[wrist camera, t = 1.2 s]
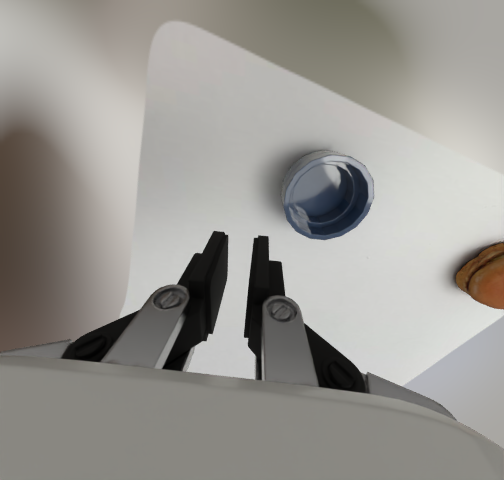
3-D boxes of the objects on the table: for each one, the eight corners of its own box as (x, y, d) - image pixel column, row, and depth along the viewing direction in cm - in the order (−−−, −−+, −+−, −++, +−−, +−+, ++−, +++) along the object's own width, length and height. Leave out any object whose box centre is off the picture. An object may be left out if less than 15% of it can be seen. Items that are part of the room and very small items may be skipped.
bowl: (287, 146, 23) (292, 150, 19) (366, 154, 23) (388, 159, 19) (276, 218, 28) (278, 235, 24) (342, 225, 28) (356, 243, 23)
